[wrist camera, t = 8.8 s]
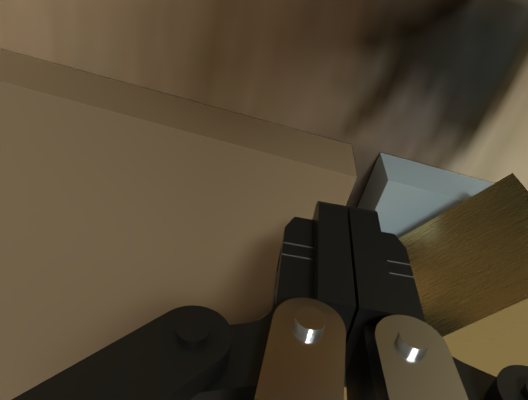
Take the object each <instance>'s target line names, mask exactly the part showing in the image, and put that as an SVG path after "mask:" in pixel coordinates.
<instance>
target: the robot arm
mask: <svg viewBox="0 0 528 400" xmlns="http://www.w3.org/2000/svg"><path fill="white" fill-rule="evenodd" d="M344 387H346V390H347V400H528V366H524V365H510V366H507V367H505V368H503V369H502V370H501V371H500V372H499V374H498V375H497V377H495V376H493V375H491V374H488V373H486V372H484V371H482V370H479V369H477V368H475V367H473V366H470V365H468V364H466V363H464V362H462V361H460V360H458V359H456V358H455V357H453V356H451V353H450V350H449V348H448V346H447V344H446V342H445V340H444V339H443V337H442V336H441V335H440V334H439V333H438V332H437V331H436V330H435V329H434V328H433V327H431V326H430V325H428V324H427V323H426V321H425V317H424V313H423V310H422V306H421V302H420V298H419V294H418V291H417V287H416V283H415V279H414V278H413V272H412V268H411V266H410V261H409V257H408V253H407V249H406V247H405V246H404V245H403V244H402V243H401V241H400V240H399V239H398V238H397V236H396V235H395V234H392V233H386V232H381V227H380V222H379V217H378V213H377V211H373V210H368V209H362V208H356V207H351V206H347V207H346V206H344V205H339V204H333V203H327V202H321V201H317V204H316V207H315V211H314V215H313V219H312V220H311V219H306V218H300V217H294V218H293V219H292V220H291V221H290V222H289V223H288V224H287V225H286V226H285V229H284V234H283V239H282V244H281V249H280V254H279V259H278V264H277V269H276V275H275V282H274V290H273V298H272V306H271V311H270V312H269V313H268V314H267V315H266V316H264V317H263V318H261V319H259V320H256V321H253V322H250V323H243V324H233V325H229V324H228V322H227V320H226V319H225V318H224V317H223V316H222V315H220V314H219V313H218V312H216V311H214V310H212V309H210V308H207V307H203V306H195V305H190V306H182V307H178V308H175V309H173V310H171V311H168V312H167V313H165V314H163V315H161V316H160V317H158V318H156V319H154V320H152V321H151V322H149V323H147V324H145V325H143V326H142V327H140V328H138V329H136V330H135V331H133V332H131V333H129V334H127V335H126V336H124V337H122V338H120V339H119V340H117V341H115V342H113V343H111V344H110V345H108V346H106V347H104V348H102V349H101V350H99V351H97V352H95V353H94V354H92V355H90V356H88V357H86V358H85V359H83V360H81V361H79V362H78V363H76V364H74V365H72V366H70V367H69V368H67V369H65V370H63V371H61V372H60V373H58V374H56V375H54V376H53V377H51V378H49V379H47V380H45V381H44V382H42V383H40V384H38V385H37V386H35V387H33V388H31V389H29V390H28V391H26V392H24V393H22V394H20V395H19V396H17V397H15V398H13V399H12V400H344Z"/></svg>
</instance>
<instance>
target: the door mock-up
mask: <svg viewBox="0 0 528 400" xmlns="http://www.w3.org/2000/svg"><path fill="white" fill-rule="evenodd" d="M356 179H357V174H356V168H355V162H354V156H353V150H352V145H351V144H347V143H344V142H340V141H336V140H333V139H329V138H325V137H322V136H318V135H314V134H311V133H307V132H303V131H300V130H296V129H292V128H289V127H285V126H281V125H278V124H274V123H270V122H267V121H263V120H260V119H256V118H252V117H249V116H245V115H241V114H238V113H234V112H230V111H227V110H223V109H219V108H216V107H212V106H208V105H205V104H201V103H197V102H194V101H190V100H186V99H183V98H179V97H175V96H172V95H168V94H164V93H161V92H157V91H153V90H150V89H146V88H142V87H139V86H135V85H131V84H128V83H124V82H120V81H117V80H113V79H109V78H106V77H102V76H98V75H95V74H91V73H87V72H84V71H80V70H76V69H73V68H69V67H65V66H62V65H58V64H55V63H51V62H47V61H44V60H40V59H36V58H33V57H29V56H25V55H22V54H18V53H14V52H11V51H7V50H3V49H0V400H12V399H13V398H15V397H17V396H19V395H20V394H22V393H24V392H26V391H28V390H29V389H31V388H33V387H35V386H37V385H38V384H40V383H42V382H44V381H45V380H47V379H49V378H51V377H53V376H54V375H56V374H58V373H60V372H61V371H63V370H65V369H67V368H69V367H70V366H72V365H74V364H76V363H78V362H79V361H81V360H83V359H85V358H86V357H88V356H90V355H92V354H94V353H95V352H97V351H99V350H101V349H102V348H104V347H106V346H108V345H110V344H111V343H113V342H115V341H117V340H119V339H120V338H122V337H124V336H126V335H127V334H129V333H131V332H133V331H135V330H136V329H138V328H140V327H142V326H143V325H145V324H147V323H149V322H151V321H152V320H154V319H156V318H158V317H160V316H161V315H163V314H165V313H167V312H168V311H171V310H173V309H175V308H178V307H182V306H190V305H195V306H203V307H207V308H210V309H212V310H214V311H216V312H218V313H219V314H220V315H222V316H223V317H224V318H225V319H226V320H227V322H228V324H229V325H233V324H243V323H250V322H253V321H256V320H257V319H259V318H261V317H263V316H264V315H266V314H268V313H269V312H270V311H271V306H272V298H273V290H274V282H275V275H276V269H277V264H278V259H279V254H280V249H281V244H282V239H283V234H284V229H285V226H286V225H287V224H288V223H289V222H290V221H291V220H292V219H293V218H294V217H300V218H306V219H311V220H312V219H313V215H314V211H315V207H316V204H317V201H321V202H327V203H333V204H339V205H344V206H346V204H347V201H348V199H349V196H350V194H351V191H352V189H353V186H354V184H355V182H356ZM493 184H494V183H490V182H486V181H483V180H479V179H475V178H472V177H468V176H464V175H461V174H457V173H454V172H450V171H446V170H443V169H439V168H435V167H432V166H428V165H424V164H421V163H417V162H413V161H410V160H406V159H402V158H399V157H395V156H391V155H388V154H384V153H380V154H379V157H378V159H377V161H376V164H375V166H374V169H373V171H372V173H371V176H370V178H369V180H368V183H367V185H366V187H365V190H364V192H363V195H362V197H361V199H360V202H359V204H358V206H357V208H362V209H368V210H373V211H377V213H378V217H379V222H380V227H381V232H386V233H392V234H395V235H396V236H397V238H398V239H399V238H400V237H402V236H404V235H406V234H407V233H409V232H411V231H413V230H414V229H416V228H418V227H420V226H421V225H423V224H425V223H427V222H428V221H430V220H432V219H434V218H435V217H437V216H439V215H441V214H442V213H444V212H446V211H448V210H449V209H451V208H453V207H454V206H456V205H458V204H460V203H461V202H463V201H465V200H467V199H468V198H470V197H472V196H474V195H475V194H477V193H479V192H481V191H482V190H484V189H486V188H488V187H489V186H491V185H493Z"/></svg>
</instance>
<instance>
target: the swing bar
mask: <svg viewBox="0 0 528 400" xmlns="http://www.w3.org/2000/svg"><path fill="white" fill-rule="evenodd" d="M399 240H400V241H401V243H402V244H403V245H404V246H405V247H406V249H407V253H408V257H409V261H410V266H411V268H412V272H413V278H414V279H415V283H416V287H417V291H418V294H419V298H420V302H421V306H422V310H423V313H424V317H425V321H426V323H427V324H428V325H430V326H431V327H433V328H434V329H435V330H436V331H437V332H438V333H439V334H440V335H441V336H442V337H443V339H444V340H445V342H446V344H447V346H448V348H449V350H450V353H451V356H453V357H455V358H456V359H458V360H460V361H462V362H464V363H466V364H468V365H470V366H473V367H475V368H477V369H479V370H482V371H484V372H486V373H488V374H491V375H493V376H495V377H497V375H498V374H499V372H500V371H501V370H502V369H503V368H505V367H507V366H510V365H524V366H528V191H527V190H526V189H525V187H524V186H523V185H522V184H521V183H520V181H519V180H518V179H517V178H516V177H515V175H514V174H513V173H512V174H510V175H509V176H507V177H505V178H503V179H502V180H500V181H498V182H496V183H495V184H493V185H491V186H489V187H488V188H486V189H484V190H482V191H481V192H479V193H477V194H475V195H474V196H472V197H470V198H468V199H467V200H465V201H463V202H461V203H460V204H458V205H456V206H454V207H453V208H451V209H449V210H448V211H446V212H444V213H442V214H441V215H439V216H437V217H435V218H434V219H432V220H430V221H428V222H427V223H425V224H423V225H421V226H420V227H418V228H416V229H414V230H413V231H411V232H409V233H407V234H406V235H404V236H402V237H400V238H399ZM266 315H267V314H266ZM266 315H264V316H266ZM264 316H263V317H264ZM263 317H261V318H263ZM261 318H259V319H261ZM259 319H257V320H259ZM344 400H347V390H346V387H344Z"/></svg>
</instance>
